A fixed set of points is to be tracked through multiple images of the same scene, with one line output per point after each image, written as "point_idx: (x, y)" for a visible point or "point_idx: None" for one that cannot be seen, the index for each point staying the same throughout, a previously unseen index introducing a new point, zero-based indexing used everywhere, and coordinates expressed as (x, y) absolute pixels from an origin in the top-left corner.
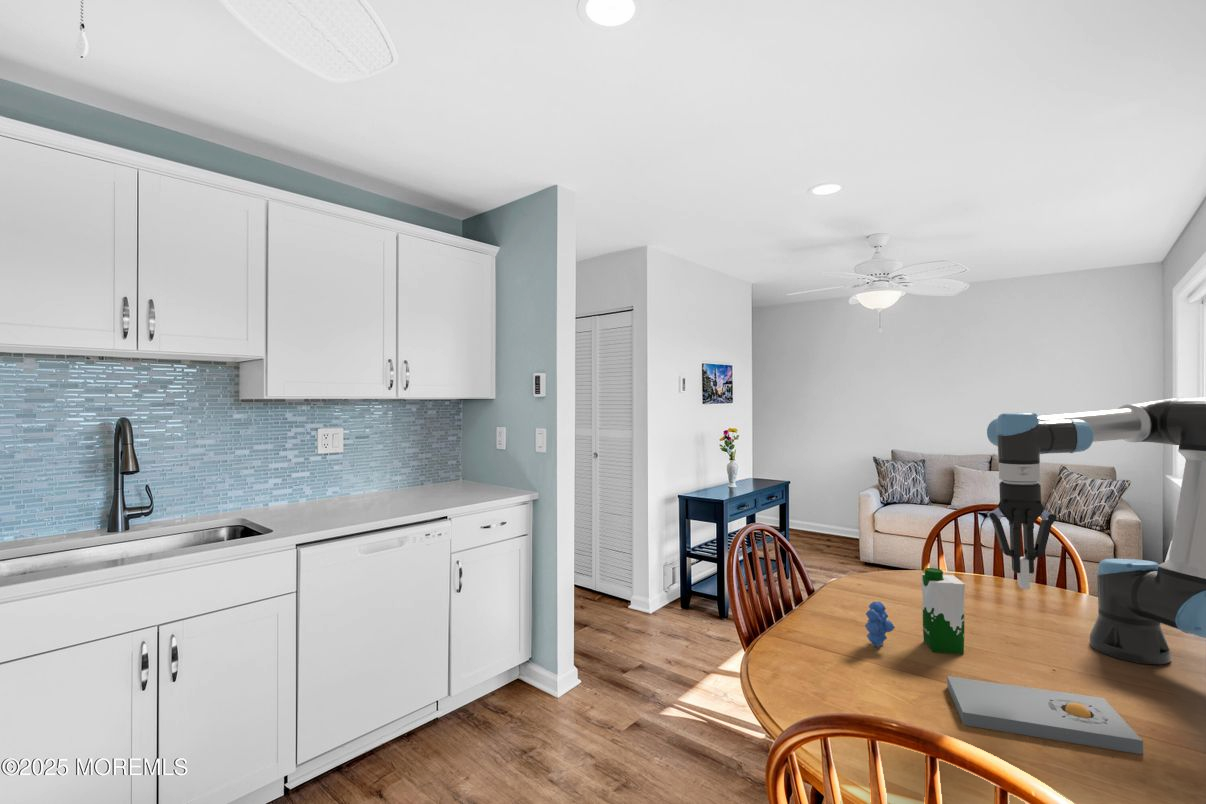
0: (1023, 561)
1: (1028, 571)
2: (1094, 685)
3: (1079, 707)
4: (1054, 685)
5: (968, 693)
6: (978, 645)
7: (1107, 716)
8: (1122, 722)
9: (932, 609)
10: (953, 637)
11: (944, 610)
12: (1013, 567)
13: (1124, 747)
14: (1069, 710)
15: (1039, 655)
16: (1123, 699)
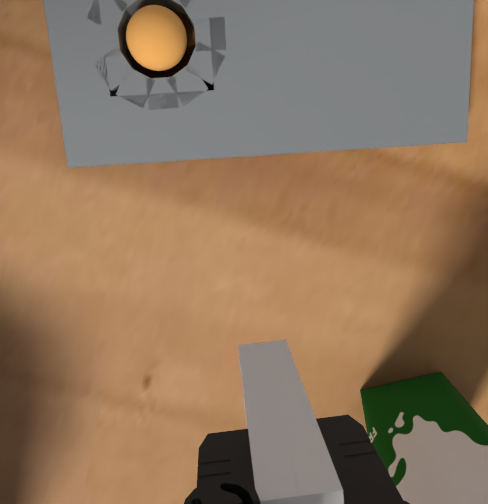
0: (309, 479)
1: (252, 416)
2: (67, 320)
3: (151, 16)
4: (166, 277)
5: (433, 33)
6: None
7: (85, 35)
8: (54, 10)
9: None
10: (408, 403)
11: (482, 454)
12: (372, 451)
13: None
14: (178, 19)
15: (162, 465)
16: (16, 258)
